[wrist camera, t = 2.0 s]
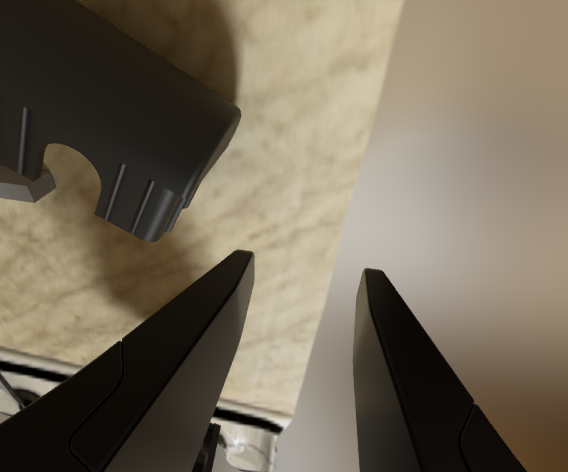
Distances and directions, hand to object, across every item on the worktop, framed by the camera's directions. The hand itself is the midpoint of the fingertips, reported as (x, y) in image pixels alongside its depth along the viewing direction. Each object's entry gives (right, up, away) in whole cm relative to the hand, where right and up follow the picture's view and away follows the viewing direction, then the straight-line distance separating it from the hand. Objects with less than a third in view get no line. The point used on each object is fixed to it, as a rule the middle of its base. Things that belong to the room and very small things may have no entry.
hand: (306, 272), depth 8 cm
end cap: (-8, +9, +11) cm, 16 cm away
